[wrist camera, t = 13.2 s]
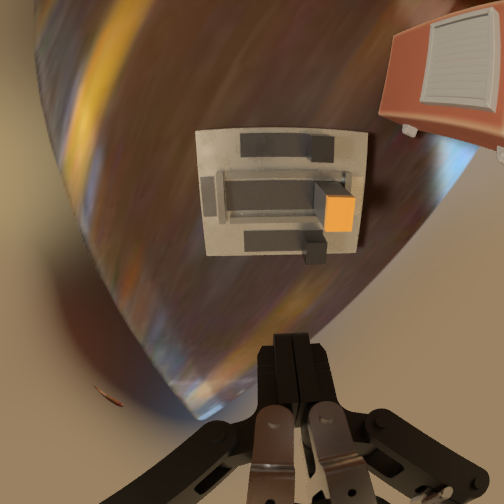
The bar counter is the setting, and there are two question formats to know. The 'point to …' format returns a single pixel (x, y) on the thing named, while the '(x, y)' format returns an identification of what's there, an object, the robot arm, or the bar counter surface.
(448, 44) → the orange rectangular box
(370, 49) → the bar counter surface
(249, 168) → the breaker board
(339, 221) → the block
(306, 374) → the robot arm
